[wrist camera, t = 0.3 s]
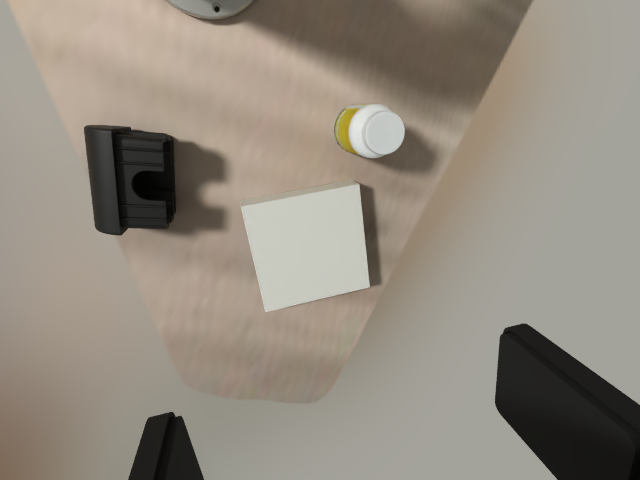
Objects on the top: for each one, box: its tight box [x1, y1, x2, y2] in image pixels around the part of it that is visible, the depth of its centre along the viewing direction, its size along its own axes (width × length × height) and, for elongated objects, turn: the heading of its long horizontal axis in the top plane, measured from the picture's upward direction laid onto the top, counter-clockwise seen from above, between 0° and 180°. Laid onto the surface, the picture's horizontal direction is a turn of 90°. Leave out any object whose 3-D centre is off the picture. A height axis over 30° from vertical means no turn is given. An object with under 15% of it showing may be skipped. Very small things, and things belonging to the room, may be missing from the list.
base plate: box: [241, 180, 370, 312], centre depth 44 cm, size 14×14×3 cm
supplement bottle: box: [333, 104, 405, 158], centre depth 37 cm, size 5×5×10 cm
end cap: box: [84, 125, 176, 235], centre depth 36 cm, size 10×7×7 cm
